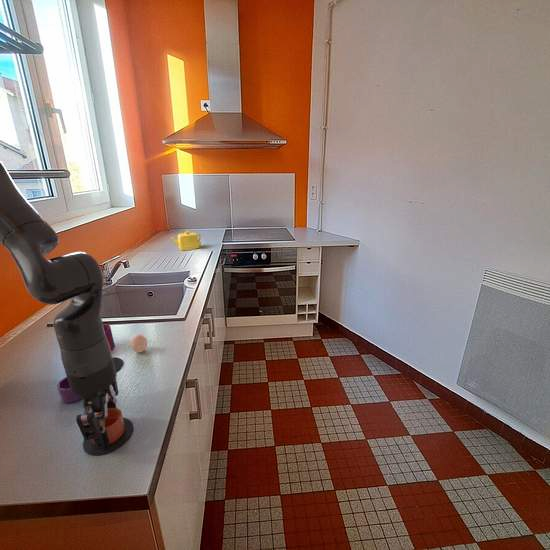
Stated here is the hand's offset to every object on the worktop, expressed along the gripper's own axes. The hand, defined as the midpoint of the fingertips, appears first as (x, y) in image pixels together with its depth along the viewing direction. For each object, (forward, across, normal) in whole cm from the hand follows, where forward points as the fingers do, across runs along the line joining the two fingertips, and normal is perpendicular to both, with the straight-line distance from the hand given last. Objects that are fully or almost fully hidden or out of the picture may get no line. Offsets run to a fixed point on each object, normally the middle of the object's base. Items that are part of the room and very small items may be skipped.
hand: (108, 432), depth 61 cm
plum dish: (+1, -15, -12) cm, 19 cm away
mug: (+1, -37, -12) cm, 39 cm away
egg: (+1, -31, 0) cm, 31 cm away
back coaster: (+1, -25, -8) cm, 26 cm away
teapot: (+1, -161, +6) cm, 161 cm away
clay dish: (+1, 0, 0) cm, 1 cm away
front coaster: (+1, 0, 0) cm, 1 cm away
